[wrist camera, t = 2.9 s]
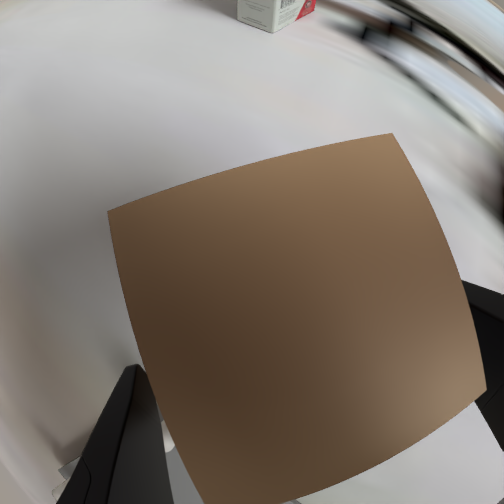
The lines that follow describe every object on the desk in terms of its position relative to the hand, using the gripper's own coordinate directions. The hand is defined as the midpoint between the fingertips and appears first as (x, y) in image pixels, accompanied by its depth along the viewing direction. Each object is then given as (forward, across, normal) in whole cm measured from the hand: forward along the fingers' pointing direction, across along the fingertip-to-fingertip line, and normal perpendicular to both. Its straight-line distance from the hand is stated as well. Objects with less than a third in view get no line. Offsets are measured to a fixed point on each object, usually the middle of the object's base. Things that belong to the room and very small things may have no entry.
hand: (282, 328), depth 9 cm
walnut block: (+6, 0, +6) cm, 8 cm away
